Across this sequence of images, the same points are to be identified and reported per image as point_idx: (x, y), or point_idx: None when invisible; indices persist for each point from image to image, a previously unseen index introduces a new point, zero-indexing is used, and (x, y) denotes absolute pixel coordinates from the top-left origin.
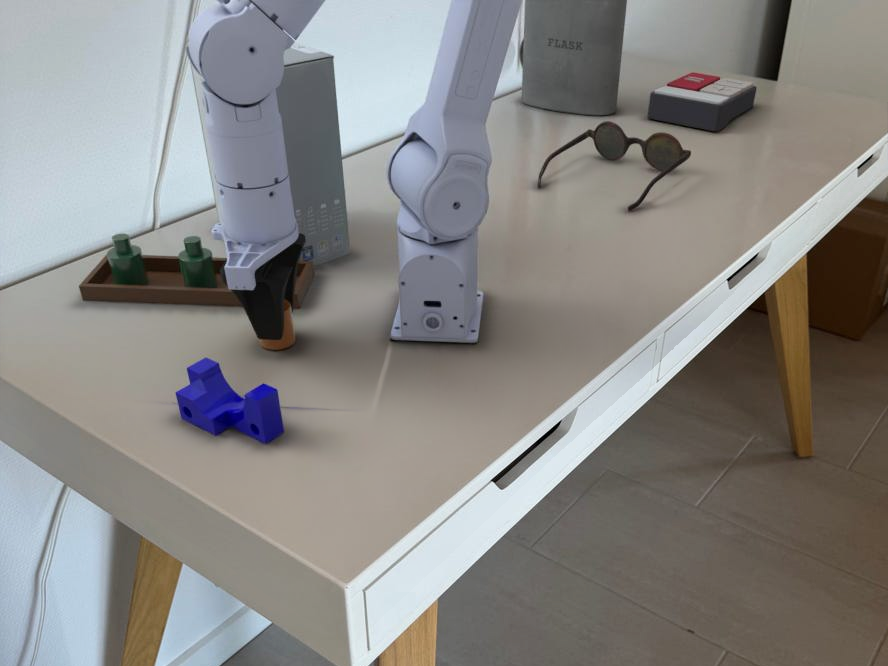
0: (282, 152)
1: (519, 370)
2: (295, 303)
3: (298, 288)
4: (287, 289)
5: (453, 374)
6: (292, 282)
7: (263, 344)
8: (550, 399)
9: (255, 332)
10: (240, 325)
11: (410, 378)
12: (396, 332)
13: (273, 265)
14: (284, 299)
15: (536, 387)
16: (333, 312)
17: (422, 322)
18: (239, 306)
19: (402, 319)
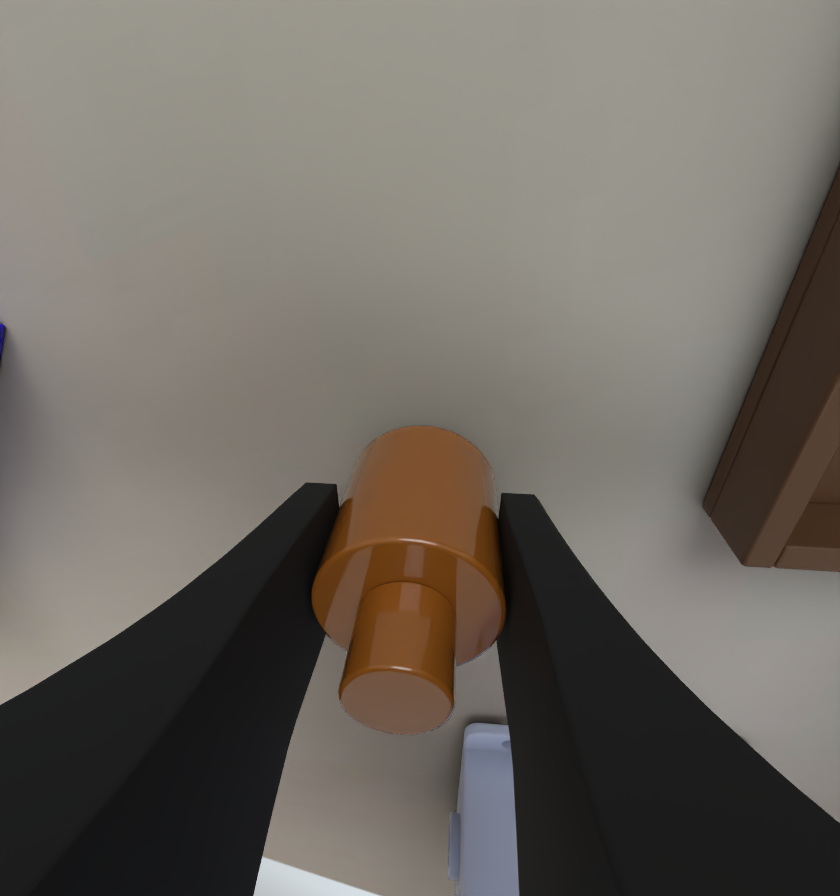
0: None
1: (369, 844)
2: (722, 523)
3: (806, 565)
4: (510, 706)
5: (337, 786)
6: (513, 770)
7: (359, 458)
8: (289, 857)
9: (288, 498)
10: (620, 279)
11: (305, 738)
12: (484, 743)
13: (543, 861)
14: (484, 649)
15: (319, 851)
16: (672, 600)
17: (460, 827)
18: (824, 236)
19: (464, 810)
